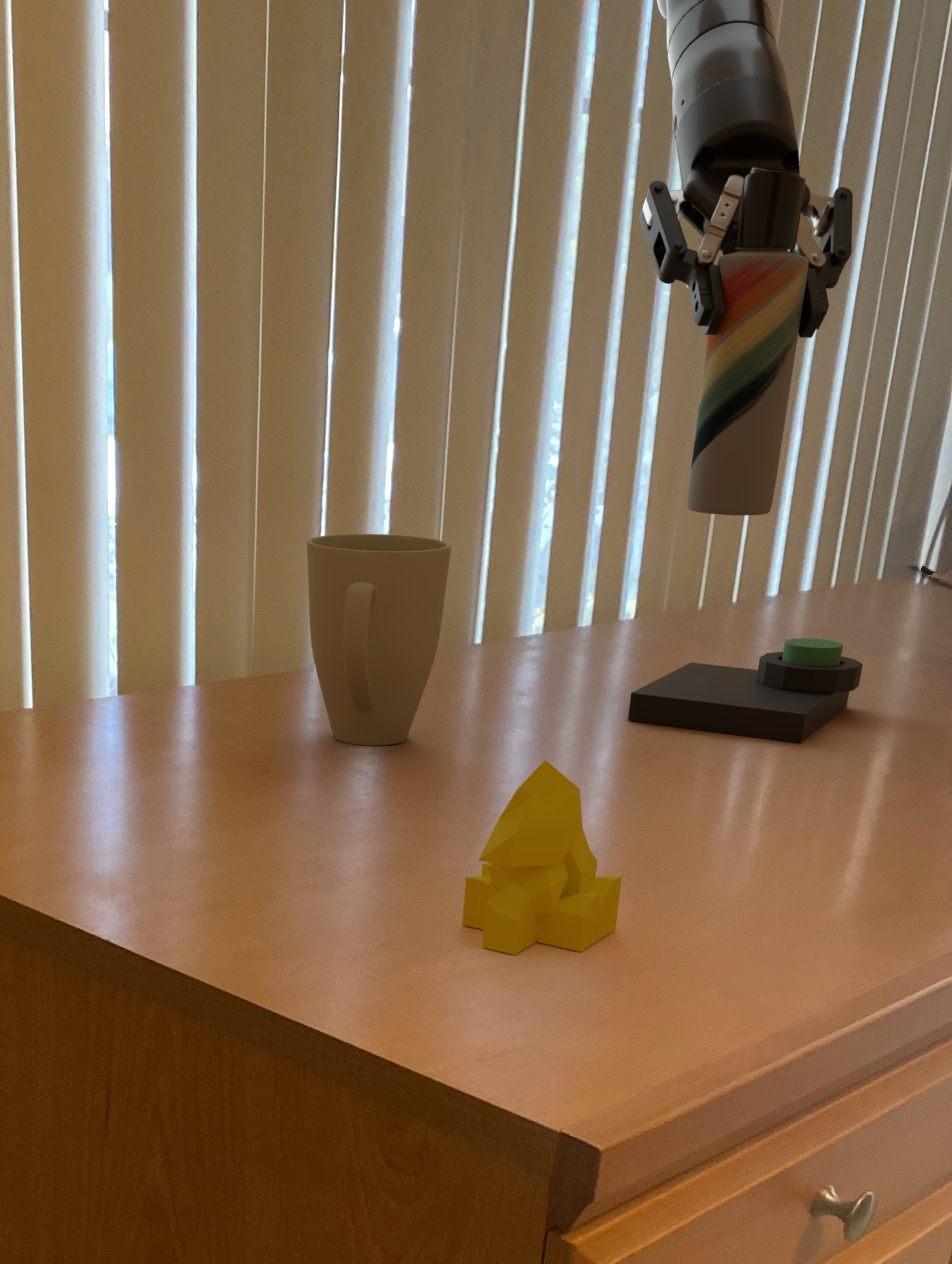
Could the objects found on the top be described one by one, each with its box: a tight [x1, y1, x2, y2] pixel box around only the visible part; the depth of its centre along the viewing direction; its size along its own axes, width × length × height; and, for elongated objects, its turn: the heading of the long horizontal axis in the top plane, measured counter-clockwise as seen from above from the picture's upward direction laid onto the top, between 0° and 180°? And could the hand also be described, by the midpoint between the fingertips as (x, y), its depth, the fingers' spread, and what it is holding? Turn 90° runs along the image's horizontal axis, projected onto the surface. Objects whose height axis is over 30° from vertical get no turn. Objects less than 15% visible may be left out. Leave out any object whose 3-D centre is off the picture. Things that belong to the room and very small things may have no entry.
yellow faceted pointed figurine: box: [461, 759, 623, 956], centre depth 72 cm, size 6×8×8 cm
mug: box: [306, 533, 452, 746], centre depth 103 cm, size 11×10×12 cm
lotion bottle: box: [687, 167, 808, 516], centre depth 106 cm, size 6×6×20 cm
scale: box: [627, 651, 863, 744], centre depth 115 cm, size 14×13×4 cm
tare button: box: [782, 637, 844, 666], centre depth 116 cm, size 4×4×2 cm
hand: (763, 325), depth 104 cm, fingers closed on lotion bottle, 5 cm apart
